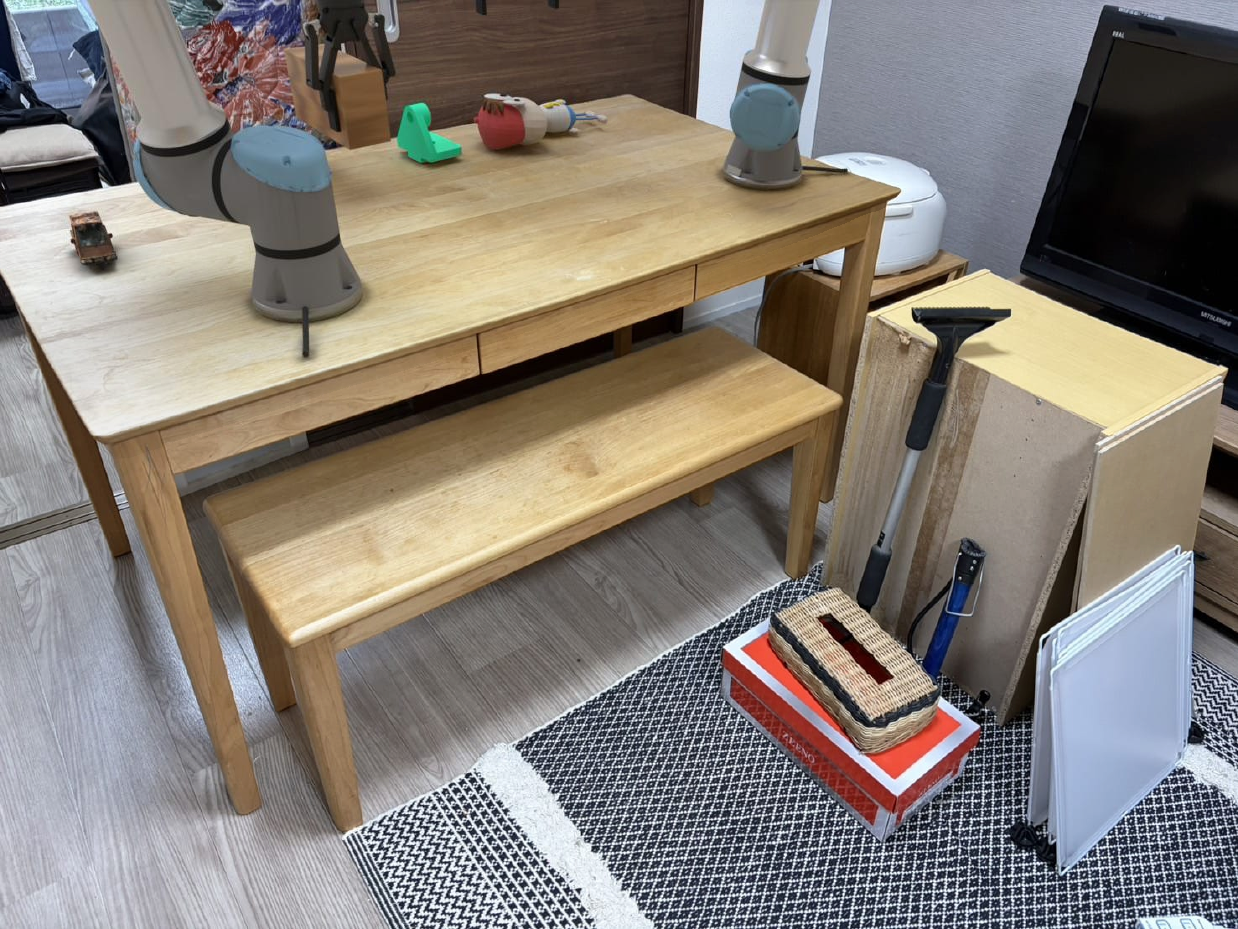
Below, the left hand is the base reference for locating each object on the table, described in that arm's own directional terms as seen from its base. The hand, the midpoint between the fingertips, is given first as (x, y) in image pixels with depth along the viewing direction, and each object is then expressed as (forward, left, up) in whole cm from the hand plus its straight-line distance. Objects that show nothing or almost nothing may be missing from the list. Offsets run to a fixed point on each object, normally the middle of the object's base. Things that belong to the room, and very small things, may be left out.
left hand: (358, 125), depth 159 cm
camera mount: (+15, -18, -13) cm, 27 cm away
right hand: (-4, -29, +17) cm, 34 cm away
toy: (+16, -43, -13) cm, 47 cm away
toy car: (-7, +45, -13) cm, 47 cm away
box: (+7, +1, -3) cm, 8 cm away
